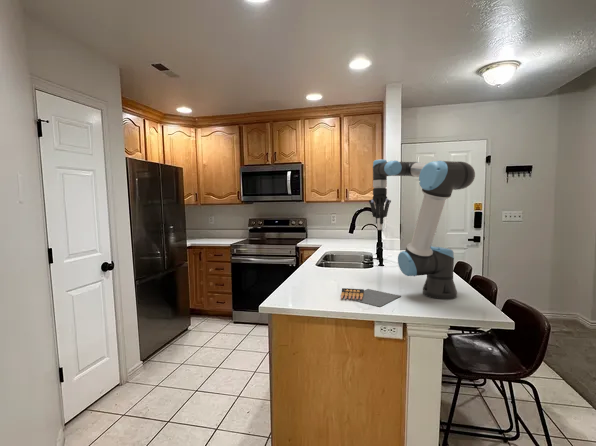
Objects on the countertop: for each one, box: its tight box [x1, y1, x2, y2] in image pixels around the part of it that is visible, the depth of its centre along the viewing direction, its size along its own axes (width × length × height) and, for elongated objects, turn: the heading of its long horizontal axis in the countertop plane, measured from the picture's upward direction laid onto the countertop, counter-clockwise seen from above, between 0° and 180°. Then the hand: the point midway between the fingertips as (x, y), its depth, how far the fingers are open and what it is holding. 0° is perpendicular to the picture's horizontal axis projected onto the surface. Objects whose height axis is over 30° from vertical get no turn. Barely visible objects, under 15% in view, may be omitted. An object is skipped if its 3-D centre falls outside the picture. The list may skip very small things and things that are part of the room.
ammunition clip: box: [340, 287, 365, 301], centre depth 149 cm, size 11×2×12 cm
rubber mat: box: [346, 288, 402, 308], centre depth 148 cm, size 18×20×1 cm
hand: (379, 229), depth 177 cm, fingers closed
